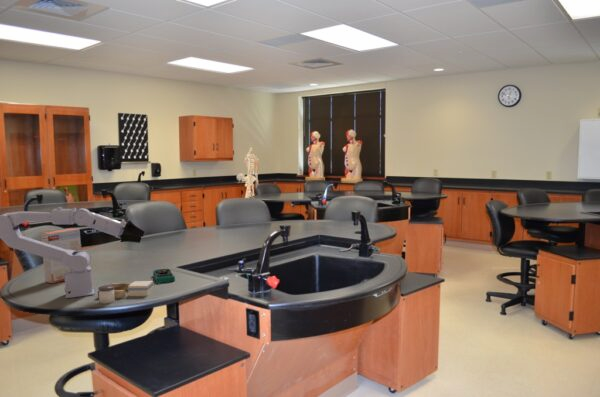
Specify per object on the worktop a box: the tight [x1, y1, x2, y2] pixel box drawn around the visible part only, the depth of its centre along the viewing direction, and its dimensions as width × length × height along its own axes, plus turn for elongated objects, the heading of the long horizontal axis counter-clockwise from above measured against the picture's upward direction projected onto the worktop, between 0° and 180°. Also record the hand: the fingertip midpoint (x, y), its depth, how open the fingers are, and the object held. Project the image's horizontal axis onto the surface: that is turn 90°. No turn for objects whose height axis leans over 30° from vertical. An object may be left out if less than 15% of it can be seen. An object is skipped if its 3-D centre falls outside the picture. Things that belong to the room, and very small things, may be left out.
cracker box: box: [40, 227, 82, 284], centre depth 197 cm, size 14×6×21 cm, turn 148°
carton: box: [127, 280, 154, 297], centre depth 174 cm, size 7×6×4 cm
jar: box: [98, 284, 116, 305], centre depth 165 cm, size 5×5×5 cm
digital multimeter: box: [152, 268, 176, 284], centre depth 196 cm, size 7×15×3 cm, turn 22°
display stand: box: [97, 282, 133, 299], centre depth 175 cm, size 10×11×2 cm
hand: (142, 237), depth 180 cm, fingers open, 7 cm apart
